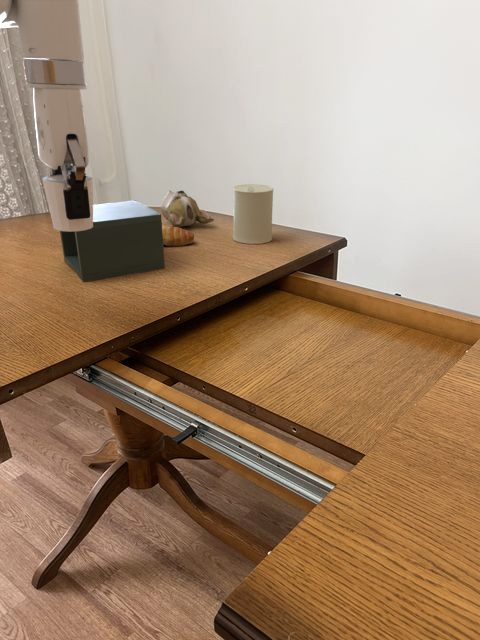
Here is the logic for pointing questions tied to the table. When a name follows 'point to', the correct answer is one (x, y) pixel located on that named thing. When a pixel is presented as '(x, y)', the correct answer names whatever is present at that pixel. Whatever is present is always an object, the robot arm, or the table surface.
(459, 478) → the table surface
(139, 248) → the box
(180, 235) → the pastry
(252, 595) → the table surface
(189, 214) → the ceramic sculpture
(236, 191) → the can
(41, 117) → the robot arm
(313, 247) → the table surface
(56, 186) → the white cup
